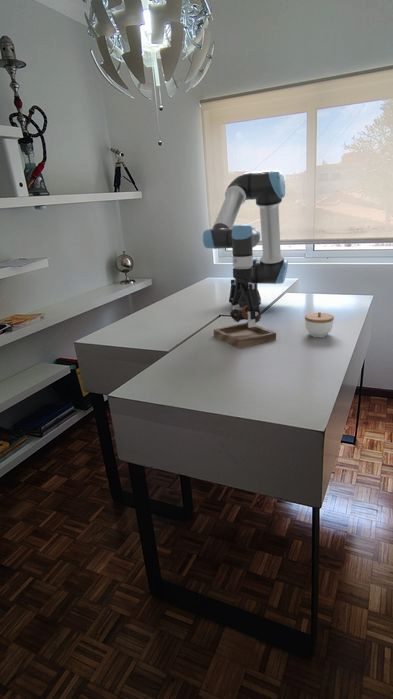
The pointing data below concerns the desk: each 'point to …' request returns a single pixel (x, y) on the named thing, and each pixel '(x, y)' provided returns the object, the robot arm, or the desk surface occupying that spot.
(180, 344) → the desk surface
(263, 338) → the walnut tray
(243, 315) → the broken clay pot
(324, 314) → the lidded jar
